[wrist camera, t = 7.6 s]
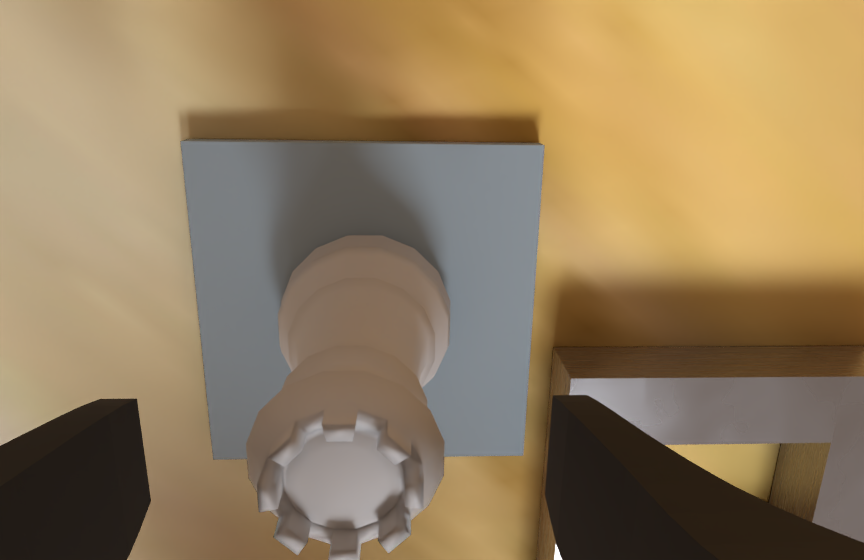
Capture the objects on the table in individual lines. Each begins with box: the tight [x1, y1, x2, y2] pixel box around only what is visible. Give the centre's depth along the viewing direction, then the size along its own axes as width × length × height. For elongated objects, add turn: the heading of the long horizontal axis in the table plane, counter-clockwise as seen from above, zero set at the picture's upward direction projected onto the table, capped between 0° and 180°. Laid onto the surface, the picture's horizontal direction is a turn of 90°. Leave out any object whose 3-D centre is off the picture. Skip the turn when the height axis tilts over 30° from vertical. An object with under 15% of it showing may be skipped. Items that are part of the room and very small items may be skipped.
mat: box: [181, 139, 544, 460], centre depth 17 cm, size 9×9×1 cm
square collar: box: [536, 346, 864, 560], centre depth 19 cm, size 9×9×2 cm
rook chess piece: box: [246, 235, 450, 560], centre depth 13 cm, size 4×4×8 cm
